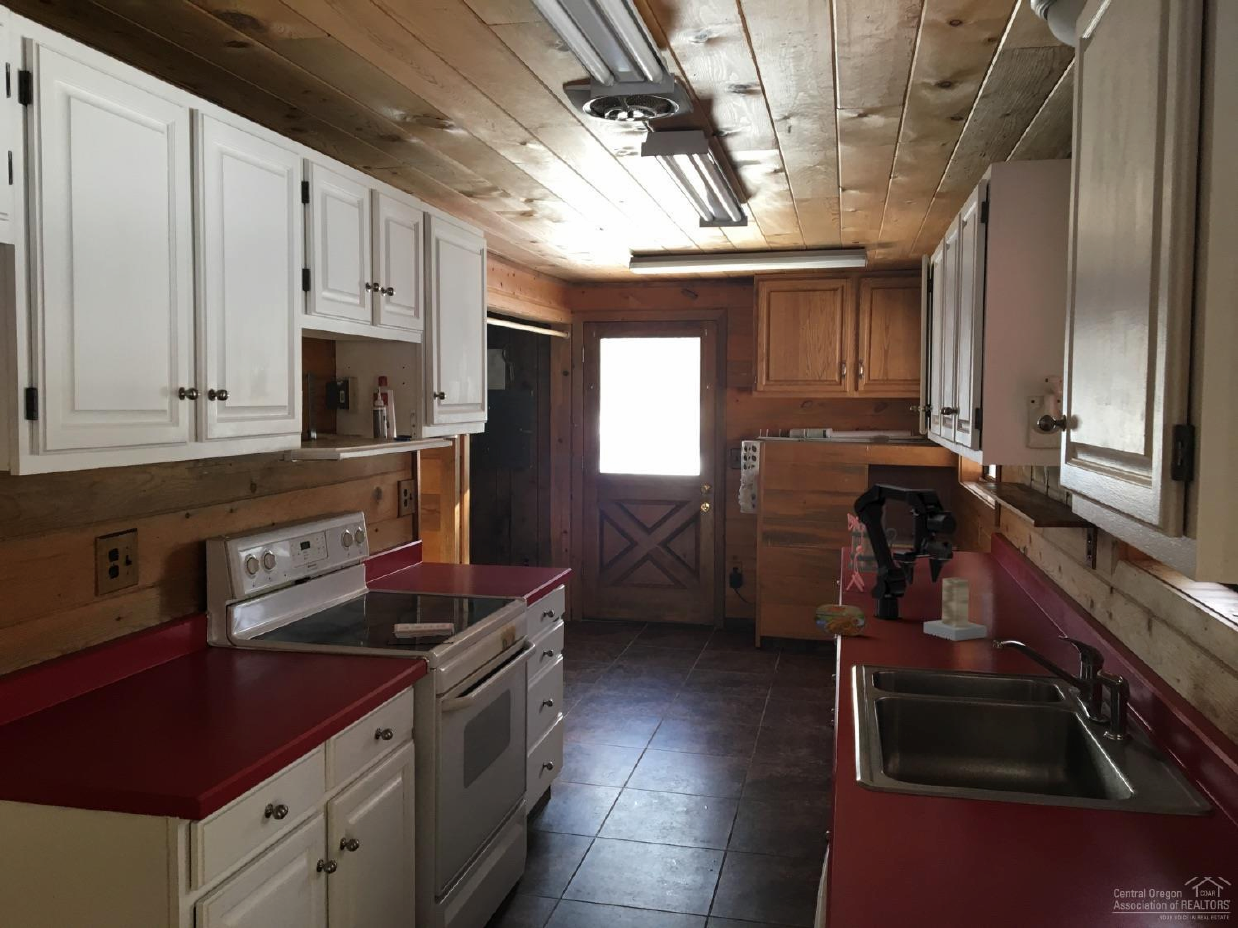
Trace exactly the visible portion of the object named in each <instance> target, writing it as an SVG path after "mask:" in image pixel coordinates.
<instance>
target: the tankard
mask: <svg viewBox="0 0 1238 928" xmlns="http://www.w3.org/2000/svg"><path fill="white" fill-rule="evenodd" d="M858 523H859V525H860V530H861V531H862V532H863V541H862V547H863V548H864V551H863V552H862V553H859V555H858V556H857V557H856V559H857V567H858V570H859V571H878V565H877V562H876V559H875V555H874V552H873V549H872V546H871V542H870V539H869V536H868V533H867V529H866V528H865V527H864V524H863V523H862V522H861V521H860V520H859V521H858ZM890 531H893V532H894V535H893V538H892V540H891V541H890V543H889V549H890V552H891V553H892V548H893V545H894V543H895V542H896V539H897V537H898V531H897V530H896V529H895V528H893V527H891V528H890V527H889V528H887V529H886V531H884V533H885V536H886V540H887V541H889V540H890V539H891V538H890V537H889V536H890ZM861 537H862V533H861V532H860V531H858V530H857V529H856V528H855V527H852V530H851V551H850V555H849V558H850V563H848V564H847V567H846V568H849V569H852V570H854V558H855V554H857V553H858V552H857V551H856V548H857V547H858V546H861ZM856 559H855V570H857V567H856ZM892 559H893V557H892ZM893 562H894V564H895V566H896V567H900V565H899V563H897V562H896V561H895V560H893Z"/></svg>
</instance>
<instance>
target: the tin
mask: <svg viewBox="0 0 1238 928" xmlns="http://www.w3.org/2000/svg"><path fill="white" fill-rule="evenodd" d="M813 622H814V625H815V627H816V629H817V630H818V631H820V632H821V633H823V634H827V635H828V634H829V635H838V636H846V637H847V636H848V637H849V636H850V637H854V636H858V635H860V634H862V633H863V632H864V631H865V630H866V628H867V624H868V617H867V615H866V613H865V612H864V610H863V609H861V608H860V607H858V606H853V605H841V604H840V605H839V604H822V605H820V606H819V607H818V608H817V609H816V610H815V612H814V615H813Z"/></svg>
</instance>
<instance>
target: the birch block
mask: <svg viewBox="0 0 1238 928" xmlns="http://www.w3.org/2000/svg"><path fill="white" fill-rule="evenodd" d="M969 584H970V580H969V579H966V578H960V577H957V576H956V577H955V576H954V577H947V578H942V594H941V595H942V596H941V597H942V602H941V603H942V604H941V620H942V624H946V625H950V626H954V627H958V626H966V625H968V622H969V594H970V593H969V592H970V591H969V590H970V589H969V588H970V585H969Z"/></svg>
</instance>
